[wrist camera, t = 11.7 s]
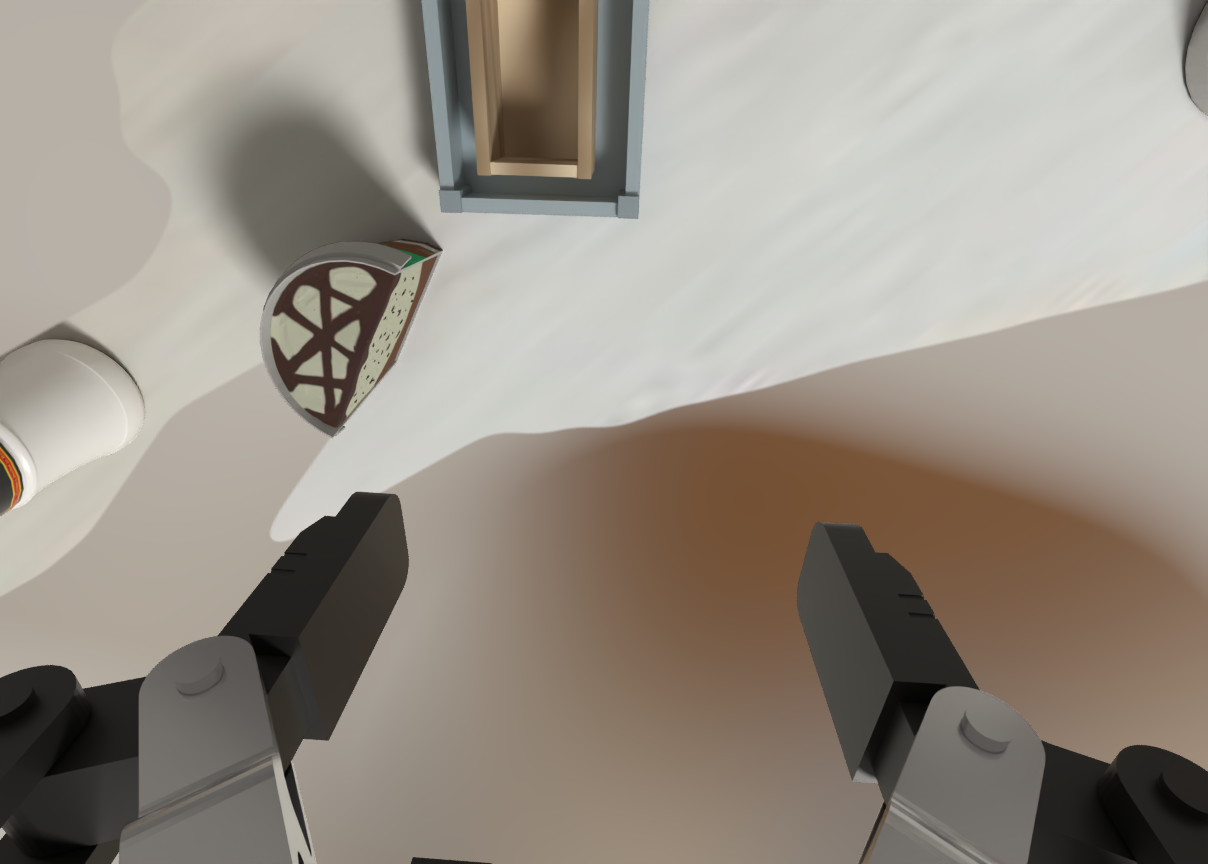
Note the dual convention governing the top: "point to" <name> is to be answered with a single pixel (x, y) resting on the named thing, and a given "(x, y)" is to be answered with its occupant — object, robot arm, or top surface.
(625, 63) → the crate
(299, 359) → the food container
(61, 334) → the top surface
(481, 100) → the small crate
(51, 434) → the vodka
